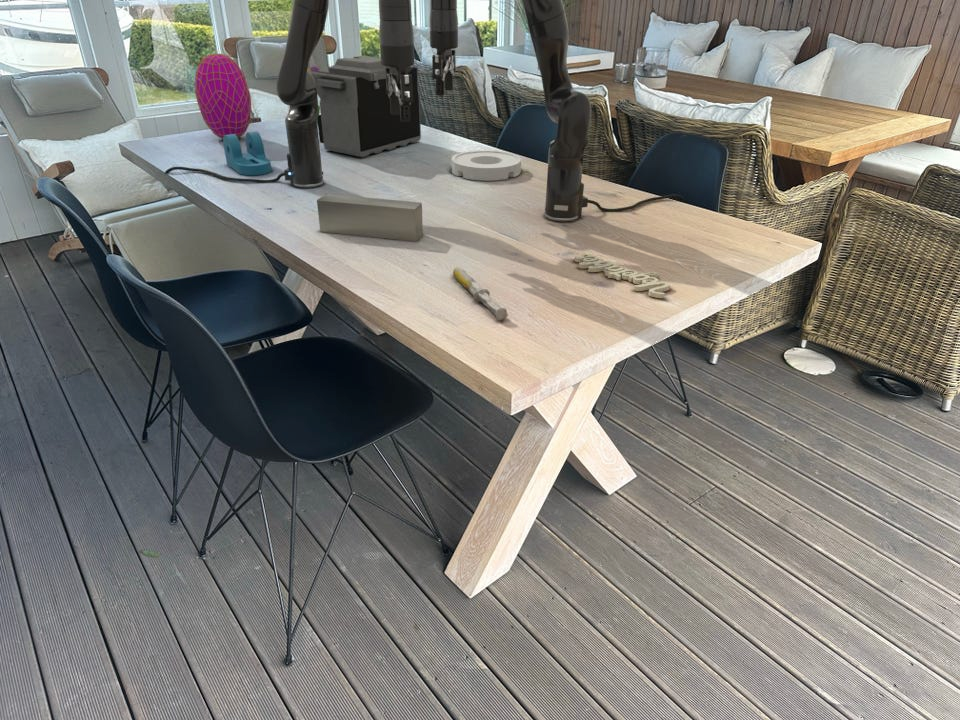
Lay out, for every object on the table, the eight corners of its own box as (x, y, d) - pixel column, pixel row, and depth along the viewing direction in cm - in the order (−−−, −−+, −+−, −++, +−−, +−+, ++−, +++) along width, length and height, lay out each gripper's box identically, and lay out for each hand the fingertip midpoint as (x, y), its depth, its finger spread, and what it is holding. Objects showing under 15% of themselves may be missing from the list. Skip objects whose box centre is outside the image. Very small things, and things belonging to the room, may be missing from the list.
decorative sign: (686, 282, 150) (660, 295, 144) (686, 286, 150) (659, 300, 144) (592, 249, 166) (565, 259, 160) (592, 253, 167) (565, 263, 161)
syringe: (449, 274, 155) (449, 263, 153) (465, 272, 156) (464, 260, 154) (490, 323, 135) (491, 310, 133) (508, 319, 136) (508, 307, 134)
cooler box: (383, 133, 276) (378, 52, 261) (425, 141, 265) (422, 56, 250) (314, 150, 251) (304, 61, 235) (358, 160, 240) (350, 67, 224)
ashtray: (453, 161, 240) (453, 149, 238) (520, 162, 239) (520, 150, 237) (449, 179, 220) (449, 167, 218) (521, 181, 219) (522, 168, 217)
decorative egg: (221, 147, 254) (205, 59, 239) (195, 138, 265) (178, 54, 250) (266, 138, 266) (254, 54, 251) (239, 130, 277) (226, 49, 262)
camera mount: (227, 164, 233) (221, 132, 227) (257, 160, 238) (252, 129, 233) (244, 176, 220) (239, 143, 215) (276, 172, 225) (271, 139, 220)
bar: (320, 231, 178) (316, 199, 174) (329, 224, 183) (325, 193, 178) (416, 241, 173) (414, 209, 168) (422, 234, 177) (421, 202, 173)
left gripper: (438, 25, 189) (439, 88, 198) (421, 30, 177) (423, 96, 186) (464, 26, 188) (464, 89, 196) (449, 31, 176) (450, 98, 184)
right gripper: (422, 45, 148) (424, 123, 156) (404, 38, 159) (407, 111, 168) (388, 46, 146) (393, 125, 154) (372, 39, 157) (377, 113, 165)
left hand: (444, 92), depth 191 cm, fingers open, 8 cm apart
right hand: (400, 118), depth 161 cm, fingers open, 8 cm apart
